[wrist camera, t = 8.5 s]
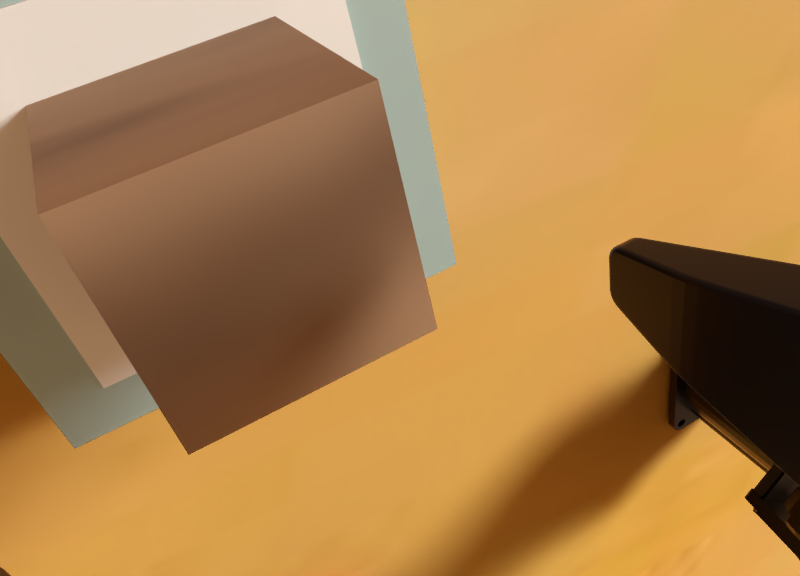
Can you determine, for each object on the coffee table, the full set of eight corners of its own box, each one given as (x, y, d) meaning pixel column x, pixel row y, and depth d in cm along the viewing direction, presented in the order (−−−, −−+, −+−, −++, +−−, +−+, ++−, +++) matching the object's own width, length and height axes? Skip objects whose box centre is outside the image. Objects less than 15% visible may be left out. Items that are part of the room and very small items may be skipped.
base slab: (412, 224, 24) (458, 266, 21) (66, 383, 21) (75, 452, 19) (314, -191, 17) (368, -198, 14) (-237, -34, 14) (-286, -9, 11)
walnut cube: (339, 221, 19) (437, 329, 15) (142, 309, 17) (189, 454, 13) (275, 16, 15) (378, 79, 11) (26, 105, 14) (37, 215, 10)
